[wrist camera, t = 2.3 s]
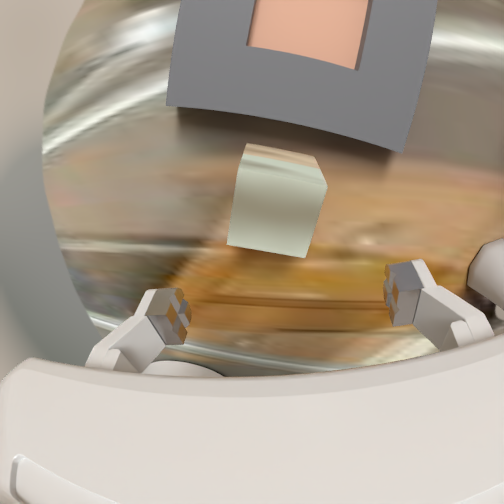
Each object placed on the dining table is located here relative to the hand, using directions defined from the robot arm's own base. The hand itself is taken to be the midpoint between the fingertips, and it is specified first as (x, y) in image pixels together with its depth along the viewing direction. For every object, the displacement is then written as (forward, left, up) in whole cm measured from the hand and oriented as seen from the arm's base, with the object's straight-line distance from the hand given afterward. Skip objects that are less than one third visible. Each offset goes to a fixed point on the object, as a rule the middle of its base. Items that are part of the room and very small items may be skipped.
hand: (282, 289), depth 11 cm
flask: (-4, -26, -13) cm, 29 cm away
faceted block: (-1, 0, -13) cm, 13 cm away
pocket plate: (+12, 0, -13) cm, 18 cm away
